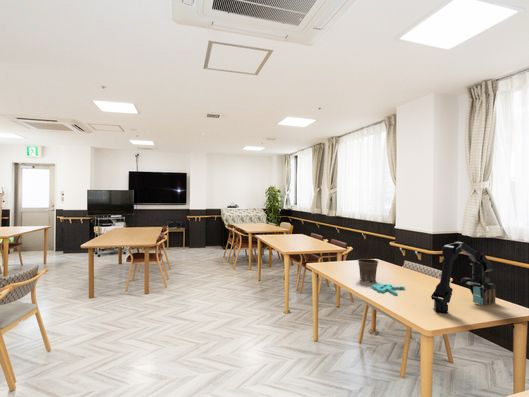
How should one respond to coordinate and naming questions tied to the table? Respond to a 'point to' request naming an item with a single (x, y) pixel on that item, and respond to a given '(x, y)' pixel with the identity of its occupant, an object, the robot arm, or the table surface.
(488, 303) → the walnut domino
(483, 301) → the walnut domino
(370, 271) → the plant pot
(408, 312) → the table surface
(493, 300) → the walnut domino
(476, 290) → the teal domino
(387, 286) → the alien figure
